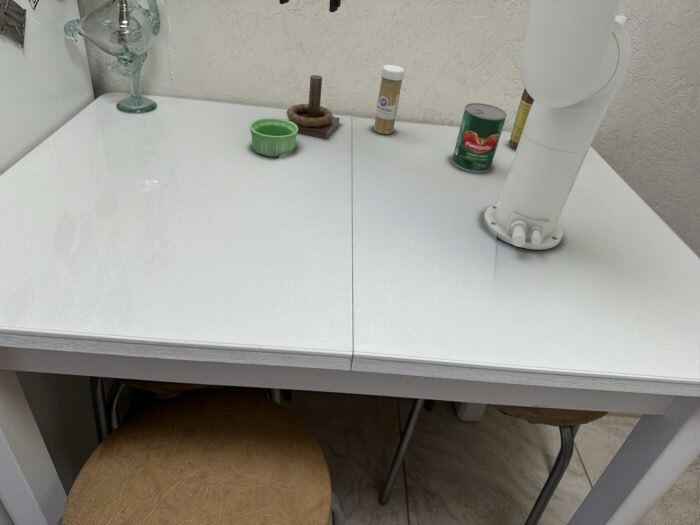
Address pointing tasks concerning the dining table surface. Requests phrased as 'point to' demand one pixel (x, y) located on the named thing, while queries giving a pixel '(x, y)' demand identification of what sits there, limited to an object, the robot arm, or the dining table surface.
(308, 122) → the ring
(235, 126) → the dining table surface
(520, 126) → the sauce bottle
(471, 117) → the canned tomato
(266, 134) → the ramekin
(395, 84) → the sprinkles bottle
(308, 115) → the stand
